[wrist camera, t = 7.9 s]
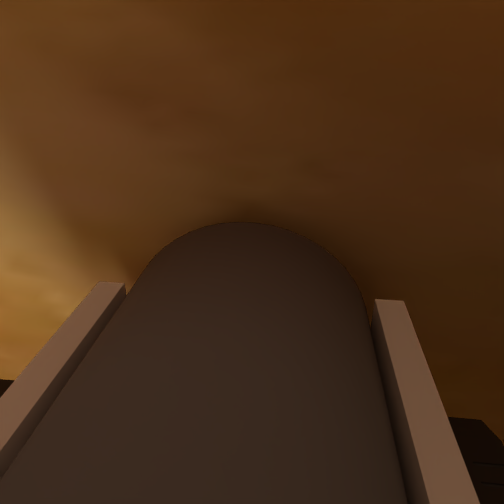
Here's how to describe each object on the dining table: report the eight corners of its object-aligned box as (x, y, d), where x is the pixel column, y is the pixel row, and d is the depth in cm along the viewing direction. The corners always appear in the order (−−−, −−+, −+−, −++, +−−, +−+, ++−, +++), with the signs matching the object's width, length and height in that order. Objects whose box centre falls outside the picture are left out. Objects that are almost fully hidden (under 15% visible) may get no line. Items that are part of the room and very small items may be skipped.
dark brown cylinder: (138, 401, 15) (-18, 741, 8) (125, 208, 12) (-159, 485, 4) (345, 430, 14) (384, 822, 7) (392, 237, 11) (543, 598, 4)
